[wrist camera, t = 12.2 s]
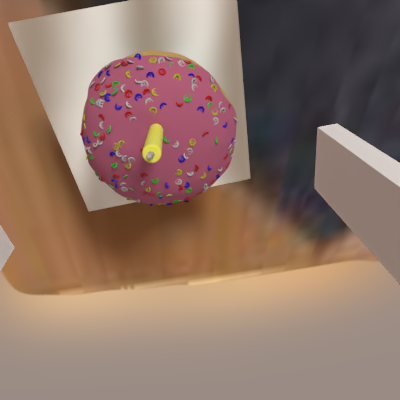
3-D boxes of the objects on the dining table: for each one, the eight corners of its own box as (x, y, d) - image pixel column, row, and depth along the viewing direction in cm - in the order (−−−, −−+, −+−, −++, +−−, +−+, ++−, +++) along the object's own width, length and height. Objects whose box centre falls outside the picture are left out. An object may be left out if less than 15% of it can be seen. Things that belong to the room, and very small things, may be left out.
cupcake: (70, 64, 19) (-27, 129, 8) (204, 24, 18) (270, 41, 8) (123, 183, 23) (102, 317, 13) (231, 151, 23) (295, 262, 13)
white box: (212, -12, 24) (235, -20, 18) (228, 142, 31) (250, 178, 25) (48, 18, 24) (7, 23, 17) (102, 167, 31) (88, 211, 24)
